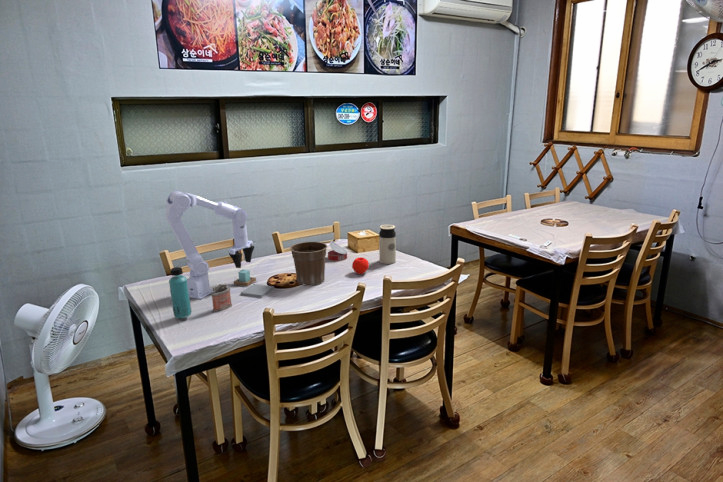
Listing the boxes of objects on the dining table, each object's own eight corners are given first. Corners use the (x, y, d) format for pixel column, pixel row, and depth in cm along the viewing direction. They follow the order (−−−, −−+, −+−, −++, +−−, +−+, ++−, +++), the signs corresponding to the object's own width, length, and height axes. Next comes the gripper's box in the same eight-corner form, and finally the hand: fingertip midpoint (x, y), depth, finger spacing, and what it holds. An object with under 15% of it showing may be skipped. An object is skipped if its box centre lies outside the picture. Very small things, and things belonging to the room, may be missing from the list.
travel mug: (377, 260, 240) (376, 225, 234) (392, 258, 242) (392, 223, 237) (382, 265, 232) (382, 229, 227) (398, 263, 235) (398, 227, 229)
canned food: (337, 263, 250) (342, 245, 251) (348, 266, 243) (354, 247, 244) (320, 257, 243) (325, 239, 244) (331, 260, 236) (337, 241, 237)
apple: (372, 274, 220) (371, 259, 218) (355, 277, 218) (355, 261, 215) (365, 269, 227) (365, 254, 225) (349, 271, 225) (349, 256, 223)
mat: (261, 297, 198) (261, 295, 197) (241, 294, 201) (240, 292, 201) (274, 288, 206) (274, 286, 206) (254, 285, 210) (254, 283, 210)
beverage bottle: (194, 314, 184) (188, 264, 178) (189, 321, 177) (182, 271, 171) (177, 314, 183) (170, 265, 178) (171, 322, 177) (163, 271, 171)
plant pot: (287, 278, 218) (285, 244, 213) (320, 272, 225) (318, 239, 220) (299, 290, 204) (297, 254, 199) (334, 283, 211) (333, 248, 206)
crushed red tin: (228, 303, 192) (226, 280, 189) (233, 306, 190) (231, 282, 187) (211, 310, 186) (208, 286, 183) (216, 313, 184) (213, 288, 181)
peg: (246, 284, 212) (245, 273, 210) (239, 283, 213) (238, 272, 211) (250, 281, 215) (249, 270, 213) (243, 281, 216) (242, 269, 214)
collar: (247, 286, 209) (247, 283, 209) (233, 284, 212) (233, 281, 211) (256, 280, 216) (255, 277, 215) (242, 279, 218) (242, 276, 218)
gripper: (238, 240, 199) (241, 271, 203) (257, 231, 212) (260, 260, 216) (224, 239, 202) (227, 269, 206) (244, 230, 215) (246, 259, 219)
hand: (243, 264), depth 211 cm, fingers open, 7 cm apart
